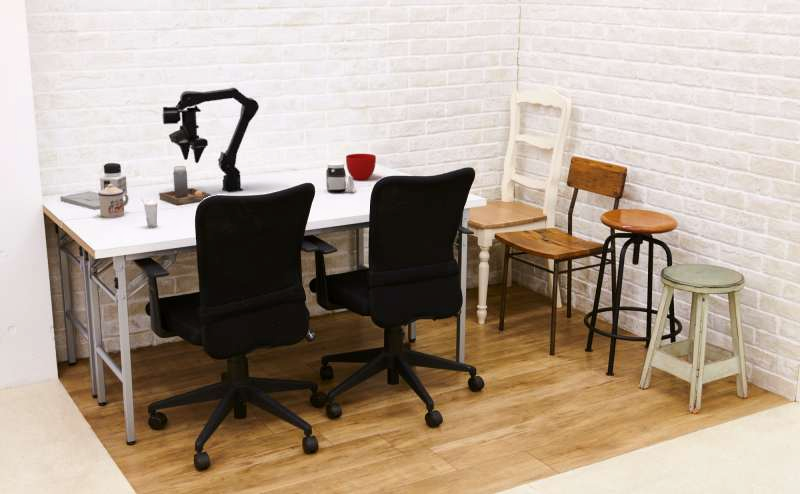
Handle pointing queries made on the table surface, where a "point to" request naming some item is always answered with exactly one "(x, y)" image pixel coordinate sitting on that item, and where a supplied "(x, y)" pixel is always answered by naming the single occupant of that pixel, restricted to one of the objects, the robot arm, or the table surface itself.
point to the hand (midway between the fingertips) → (191, 161)
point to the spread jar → (338, 178)
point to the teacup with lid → (112, 201)
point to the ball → (198, 193)
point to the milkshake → (151, 213)
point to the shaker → (180, 182)
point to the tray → (181, 201)
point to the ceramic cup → (360, 165)
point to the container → (113, 177)
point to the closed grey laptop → (83, 199)
